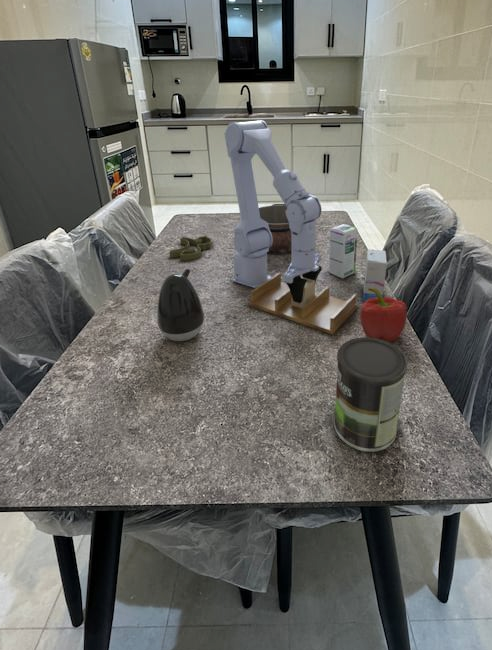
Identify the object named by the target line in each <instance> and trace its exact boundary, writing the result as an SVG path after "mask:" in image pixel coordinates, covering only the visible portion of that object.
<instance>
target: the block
mask: <svg viewBox="0 0 492 650" xmlns="http://www.w3.org/2000/svg"><path fill="white" fill-rule="evenodd" d="M300 277H301V278H302V279H306V280H307V282H306V284H305V286H304V290H303V298H302V302H301V303H297V302H294V301H293V299H292V295H291V305H292V306H295V307H298V308H302V307H303V306H304V305H306V304H307V303H308V302H309V301H310V300H311V299H313V298H314V297H315V292H316V283H315V280H311V279H308V278H304V277H302V276H300Z"/></svg>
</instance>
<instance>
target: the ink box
mask: <svg viewBox="0 0 492 650" xmlns="http://www.w3.org/2000/svg"><path fill="white" fill-rule="evenodd" d="M386 252H387V251H386V250H382V249H381V250H379V249H372V248H368V249H367V252H366V260H365V269H364V279H363V303H364V302H365V301H366V300H368V299H370V298H374V297H375V298H378V297H377V295H376V293H375V292H374V291H373V292H372V291H370V290H368V288H370V287H373V288H376V289H377V290H378V291H379V292H380V293H381V295H382V297H383V298H384V289H385V283H386V274H387V265H388V262H387V261H388V259H387V253H386Z"/></svg>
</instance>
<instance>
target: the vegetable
mask: <svg viewBox="0 0 492 650" xmlns="http://www.w3.org/2000/svg"><path fill="white" fill-rule="evenodd" d="M368 290H370V291H372V292H373V291H374V292H375V293H376V295H377V297H378V298H375V297H374V298H370V299H368V300H366V301H365V302H364V301H363V304H362V306H361V307H360V310H359V314H360V315H359V318H360V325H361V328H362V330H363V332H364V334H365V335H366V337H370V338H377V339H381V340H384V341H387V342H389V343H391V342H394V341H396V340H397V339H398V338H400V336H401V335H402V332H403V331H404V329H405V326H406V324H407V315H408V314H407V312H408V311H407V310H408V308H407V305H406V303H405V302H404V301H402V300H398V299H395V298H393V297H390V296H385V297H384V296H383V297H382V295H381V293H380V292H379V291H378V290H377V289H376V288H373V287H370V288H368Z"/></svg>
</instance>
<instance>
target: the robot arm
mask: <svg viewBox="0 0 492 650" xmlns="http://www.w3.org/2000/svg"><path fill="white" fill-rule="evenodd" d="M223 135H224V139H225V145H226V152H227V156H228V158H230V164H231V171H232V176H233V182H234V188H235V193H236V198H237V205H238V210H239V215H240V216H239V217H240V222H238V224H237V225H236V226H235V227H234V229H233V233H234V240H233V245H234V249H235V251H236V252H235V253H234V255H233V258H232V259H233V261H232V262H233V277H234V278H233V279H232V282H235V283H237V284H241V285H244V286H247V287H249V288H253V289H255V288H256V287H258V286H259V285H261V284H262V283H264V282H265V281H267V280H268V279H270V278H271V277H273V276H272V275H269V274H268V273H269V272H268V253H267V252H268V251H269V247H271V246H272V243H273V237H272V234H271V232H270V229H269V225H268V223H267V222H266V221H264V220H263V219H261V218H260V213H259V208H260V207H259V201H258V195H257V190H256V189H257V188H256V183H255V176H254V170H253V164H252V159H253V158H254V156H255V155H257V156H258V158H259V159H260V161H261V162H262V163H263V165H264V166H265V168H266V169H267V170H268V171H269V172H270V174H271V175H272V176H273V181H272V185H273V187H274V189H275V191H276V192H277V194H278V195H279V197H280V199H281V200H282V202H283V204H285V205H286V207H287V210H286V216H287V219H288V221H289V228H290V230H291V246H292V247H291V253H290V254H291V262H290V264H289V266H288V268H287V270H286V271H285V273H283V282H284V283H286V284H287V285H288V287H289V289H290V292H291V295H292V299H293V301H294V302H297V303H301V302H302V298H303V290H304V286H305V284H306V282H307V280H306V279H302V278H301V277H304V278H308V279H311V280H315V284H316V282H317V279H318V277H319V275H320V273H321V272H322V269H323V267H322V266H321V265H318V263H321V262H322V254H320V253H316V238H317V233H316V231H317V220H318V219H319V218H321V216H322V205H321V203H320V200H319V198H318V197H317V196H315V195H313V194H311V193H310V192H309V191H308V192H307V190H306V189H305V187H304V186H303V184H302V182H301V181H300V179H299V178H298V176H297V174H296V173H295V171H293V170H289V169H287V168H286V166H285V164H284V162H283V161H282V158H281V156H280V155H279V153H278V151H277V149H276V147H275V146H274V144H273V142H272V130H271V129H270V128H269V126H268V124H267V123H266V121H264V120H263V119H257V120H251V121H240V122H235V121H232V122H229V124H228V125H227V127H226V129H225V132H224V134H223Z"/></svg>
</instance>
